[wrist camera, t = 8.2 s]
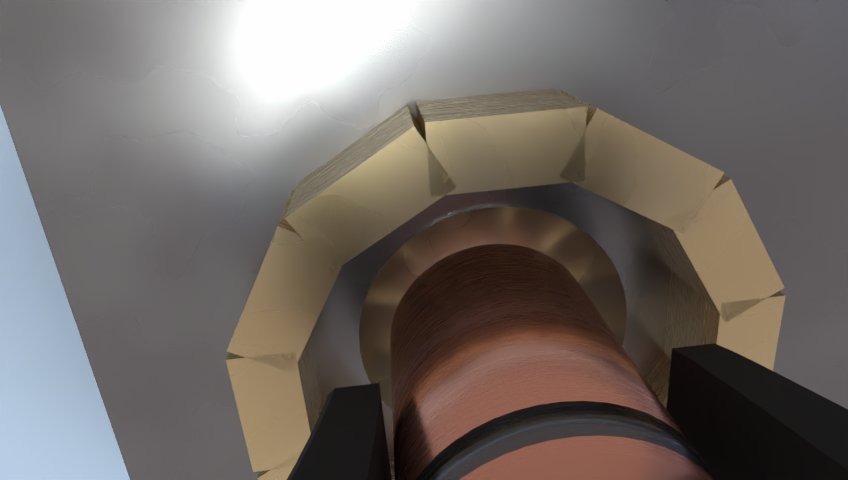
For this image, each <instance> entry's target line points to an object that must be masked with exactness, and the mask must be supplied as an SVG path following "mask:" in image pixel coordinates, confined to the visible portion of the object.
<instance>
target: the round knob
mask: <svg viewBox="0 0 848 480" xmlns="http://www.w3.org/2000/svg"><path fill="white" fill-rule="evenodd" d="M390 353H391V384H392V414H393V445H394V476H395V480H717V478H716V477H715V476H714V474H713V473H712V471H711V470H710V468H709V467H708V466H707V464H706V463H705V461H704V460H703V458H702V457H701V456H700V454H699V453H698V452H697V450H696V449H695V447H694V446H693V445H692V444H691V443H690V442H689V441H688V440H687V439H686V437H685V436H684V434H683V433H682V431H681V430H680V428H679V427H678V426H677V424H676V423H675V421H674V420H673V418H672V417H671V416H670V414H669V413H668V411H667V410H666V408H665V407H664V405H663V404H662V403H661V401H660V400H659V398H658V397H657V395H656V394H655V392H654V391H653V390H652V388H651V387H650V385H649V384H648V382H647V381H646V379H645V378H644V377H643V375H642V374H641V372H640V371H639V369H638V368H637V366H636V365H635V364H634V362H633V361H632V359H631V358H630V356H629V355H628V353H627V352H626V351H625V349H624V348H623V346H622V345H621V343H620V342H619V341H618V339H617V338H616V336H615V335H614V333H613V332H612V330H611V329H610V328H609V326H608V325H607V323H606V322H605V320H604V319H603V317H602V316H601V315H600V313H599V312H598V310H597V309H596V307H595V306H594V304H593V303H592V302H591V300H590V299H589V297H588V296H587V294H586V293H585V291H584V290H583V289H582V287H581V286H580V284H579V283H578V282H577V280H576V279H575V277H574V276H573V275H572V274H571V273H570V272H569V271H568V270H567V269H566V268H565V267H564V266H563V265H562V264H560V263H559V262H557V261H556V260H555V259H553V258H551V257H550V256H548V255H546V254H544V253H542V252H539V251H537V250H534V249H531V248H528V247H523V246H519V245H511V244H488V245H481V246H475V247H471V248H468V249H464V250H461V251H458V252H456V253H453V254H451V255H449V256H447V257H445V258H443V259H441V260H440V261H438V262H436V263H435V264H433V265H432V266H431V267H429V268H428V269H426V270H425V271H424V272H423V273H422V274H421V275H420V276H419V277H418V278H417V279H416V280H415V281H414V282H413V283H412V284H411V286H410V287H409V288H408V289H407V291H406V292H405V294H404V295H403V297H402V299H401V300H400V302H399V304H398V307H397V309H396V311H395V314H394V318H393V321H392V325H391V333H390Z"/></svg>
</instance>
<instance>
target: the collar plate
mask: <svg viewBox="0 0 848 480" xmlns="http://www.w3.org/2000/svg"><path fill="white" fill-rule="evenodd" d="M0 105H1V108H2V110H3V113H4V116H5V119H6V122H7V125H8V128H9V131H10V134H11V136H12V139H13V142H14V145H15V148H16V151H17V154H18V157H19V160H20V162H21V165H22V168H23V171H24V174H25V177H26V180H27V183H28V186H29V188H30V191H31V194H32V197H33V200H34V203H35V206H36V209H37V212H38V214H39V217H40V220H41V223H42V226H43V229H44V232H45V235H46V238H47V240H48V243H49V246H50V249H51V252H52V255H53V258H54V261H55V264H56V266H57V269H58V272H59V275H60V278H61V281H62V284H63V287H64V290H65V292H66V295H67V298H68V301H69V304H70V307H71V310H72V313H73V315H74V318H75V321H76V324H77V327H78V330H79V333H80V336H81V339H82V341H83V344H84V347H85V350H86V353H87V356H88V359H89V362H90V365H91V367H92V370H93V373H94V376H95V379H96V382H97V385H98V388H99V391H100V393H101V396H102V399H103V402H104V405H105V408H106V411H107V414H108V417H109V419H110V422H111V425H112V428H113V431H114V434H115V437H116V440H117V443H118V445H119V448H120V451H121V454H122V457H123V460H124V463H125V466H126V469H127V471H128V474H129V477H130V480H287V478H288V476H289V475H290V473H291V471H292V469H293V468H294V466H295V464H296V462H297V460H298V458H299V456H300V454H301V452H302V450H303V448H304V447H305V445H306V443H307V441H308V439H309V437H310V435H311V433H312V431H313V428H314V426H315V424H316V422H317V420H318V418H319V415H320V413H321V411H322V409H323V406H324V404H325V401H326V399H327V396H328V395H329V394H330V393H331V392H332V391H333V390H334V389H335V388H340V387H349V386H357V385H366V384H374V383H379V385H380V393H381V400H382V408H383V416H384V424H385V431H386V439H387V447H388V454H389V462H390V470H391V477H392V480H395V476H394V445H393V414H392V384H391V353H390V333H391V325H392V321H393V318H394V314H395V311H396V309H397V307H398V304H399V302H400V300H401V299H402V297H403V295H404V294H405V292H406V291H407V289H408V288H409V287H410V286H411V284H412V283H413V282H414V281H415V280H416V279H417V278H418V277H419V276H420V275H421V274H422V273H423V272H424V271H425V270H426V269H428V268H429V267H431V266H432V265H433V264H435V263H436V262H438V261H440V260H441V259H443V258H445V257H447V256H449V255H451V254H453V253H456V252H458V251H461V250H464V249H468V248H471V247H475V246H481V245H488V244H511V245H519V246H523V247H528V248H531V249H534V250H537V251H539V252H542V253H544V254H546V255H548V256H550V257H551V258H553V259H555V260H556V261H557V262H559V263H560V264H562V265H563V266H564V267H565V268H566V269H567V270H568V271H569V272H570V273H571V274H572V275H573V276H574V277H575V279H576V280H577V282H578V283H579V284H580V286H581V287H582V289H583V290H584V291H585V293H586V294H587V296H588V297H589V299H590V300H591V302H592V303H593V304H594V306H595V307H596V309H597V310H598V312H599V313H600V315H601V316H602V317H603V319H604V320H605V322H606V323H607V325H608V326H609V328H610V329H611V330H612V332H613V333H614V335H615V336H616V338H617V339H618V341H619V342H620V343H621V345H622V346H623V348H624V349H625V351H626V352H627V353H628V355H629V356H630V358H631V359H632V361H633V362H634V364H635V365H636V366H637V368H638V369H639V371H640V372H641V374H642V375H643V377H644V378H645V379H646V381H647V382H648V384H649V385H650V387H651V388H652V390H653V391H654V392H655V394H656V395H657V397H658V398H659V400H660V401H661V403H662V404H663V405H664V407H665V408H667V397H668V386H669V375H670V365H671V354H672V348H679V347H687V346H696V345H704V344H713V343H715V344H717V345H720V346H722V347H724V348H727V349H729V350H731V351H733V352H735V353H738V354H740V355H742V356H744V357H746V358H748V359H750V360H752V361H754V362H756V363H758V364H760V365H762V366H764V367H766V368H768V369H770V370H772V371H774V372H776V373H778V374H780V375H782V376H784V377H786V378H788V379H790V380H792V381H793V382H795V383H797V384H799V385H801V386H803V387H805V388H807V389H809V390H811V391H813V392H815V393H817V394H819V395H821V396H823V397H825V398H827V399H829V400H830V401H832V402H834V403H836V404H838V405H840V406H842V407H844V408H846V409H848V0H0Z"/></svg>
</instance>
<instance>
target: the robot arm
mask: <svg viewBox="0 0 848 480" xmlns="http://www.w3.org/2000/svg"><path fill="white" fill-rule="evenodd" d="M666 410H667V411H668V413H669V414H670V416H671V417H672V418H673V420H674V421H675V423H676V424H677V426H678V427H679V428H680V430H681V431H682V433H683V434H684V436H685V437H686V439H687V440H688V441H689V442H690V443H691V444H692V445H693V446H694V447H695V449H696V450H697V452H698V453H699V454H700V456H701V457H702V458H703V460H704V461H705V463H706V464H707V466H708V467H709V468H710V470H711V471H712V473H713V474H714V476H715V477H716V478H717V480H848V409H846V408H844V407H842V406H840V405H838V404H836V403H834V402H832V401H830V400H829V399H827V398H825V397H823V396H821V395H819V394H817V393H815V392H813V391H811V390H809V389H807V388H805V387H803V386H801V385H799V384H797V383H795V382H793V381H792V380H790V379H788V378H786V377H784V376H782V375H780V374H778V373H776V372H774V371H772V370H770V369H768V368H766V367H764V366H762V365H760V364H758V363H756V362H754V361H752V360H750V359H748V358H746V357H744V356H742V355H740V354H738V353H735V352H733V351H731V350H729V349H727V348H724V347H722V346H720V345H717V344H715V343H713V344H704V345H696V346H687V347H679V348H672V354H671V365H670V375H669V386H668V397H667V408H666ZM287 480H392V477H391V470H390V462H389V454H388V447H387V439H386V431H385V424H384V416H383V408H382V400H381V393H380V385H379V383H374V384H366V385H357V386H349V387H340V388H335V389H334V390H333V391H332V392H331V393H330V394H329V395H328V396H327V399H326V401H325V404H324V406H323V409H322V411H321V413H320V415H319V418H318V420H317V422H316V424H315V426H314V428H313V431H312V433H311V435H310V437H309V439H308V441H307V443H306V445H305V447H304V448H303V450H302V452H301V454H300V456H299V458H298V460H297V462H296V464H295V466H294V468H293V469H292V471H291V473H290V475H289V476H288V478H287Z"/></svg>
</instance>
